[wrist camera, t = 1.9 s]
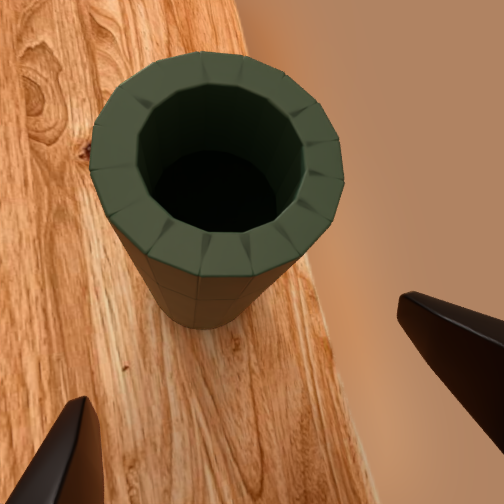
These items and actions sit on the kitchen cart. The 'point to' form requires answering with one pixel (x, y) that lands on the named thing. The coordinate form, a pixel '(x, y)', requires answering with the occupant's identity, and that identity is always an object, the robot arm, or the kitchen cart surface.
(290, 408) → the kitchen cart surface
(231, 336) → the kitchen cart surface
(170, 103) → the hollow cylinder
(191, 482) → the kitchen cart surface
